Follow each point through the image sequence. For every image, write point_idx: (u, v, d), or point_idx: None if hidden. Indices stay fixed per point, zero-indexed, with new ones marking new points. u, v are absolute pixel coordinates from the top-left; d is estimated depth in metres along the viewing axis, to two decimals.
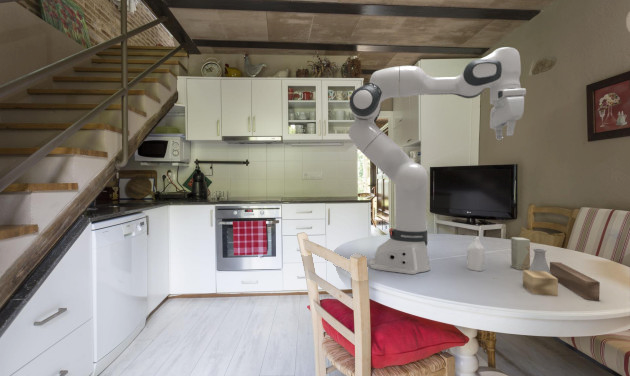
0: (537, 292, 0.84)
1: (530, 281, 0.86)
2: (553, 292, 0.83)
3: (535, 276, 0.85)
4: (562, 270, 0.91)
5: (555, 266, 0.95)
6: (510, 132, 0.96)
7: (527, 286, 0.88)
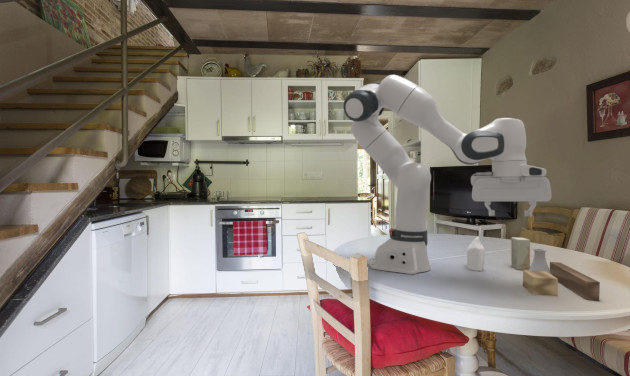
0: (537, 292, 0.84)
1: (530, 281, 0.86)
2: (553, 292, 0.83)
3: (535, 276, 0.85)
4: (562, 270, 0.91)
5: (555, 266, 0.95)
6: None
7: (527, 286, 0.88)
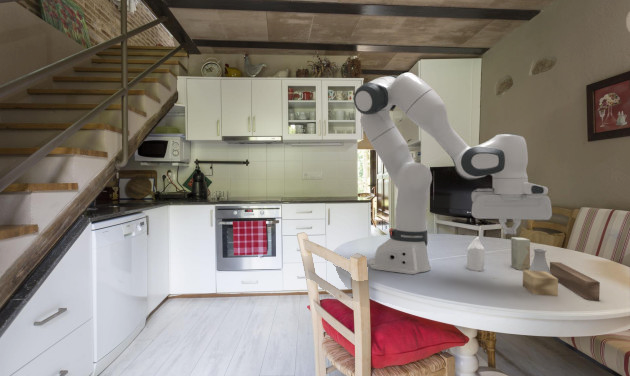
0: (537, 292, 0.84)
1: (530, 281, 0.86)
2: (553, 292, 0.83)
3: (535, 276, 0.85)
4: (562, 270, 0.91)
5: (555, 266, 0.95)
6: None
7: (527, 286, 0.88)
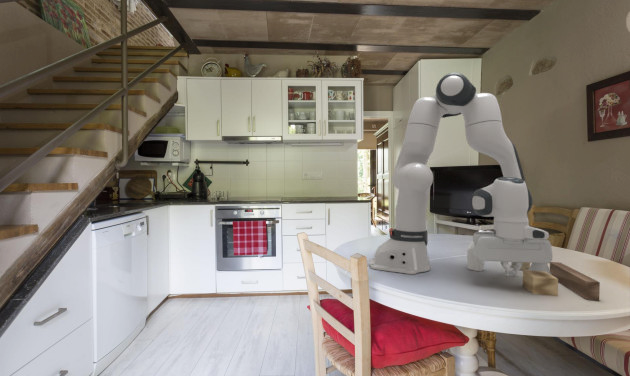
0: (537, 292, 0.84)
1: (530, 281, 0.85)
2: (553, 292, 0.83)
3: (535, 276, 0.85)
4: (562, 270, 0.91)
5: (555, 266, 0.95)
6: None
7: (527, 286, 0.88)
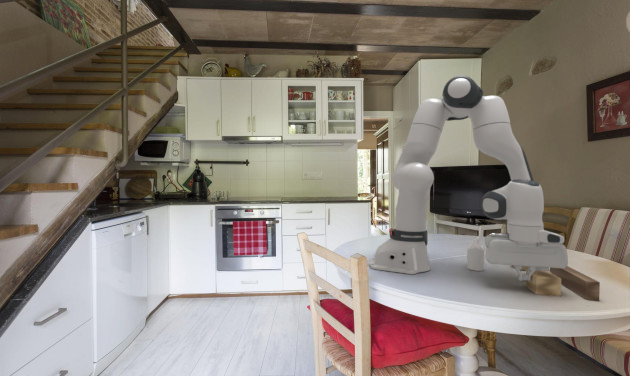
0: (540, 292, 0.84)
1: (533, 281, 0.85)
2: (556, 292, 0.83)
3: (538, 276, 0.84)
4: (562, 270, 0.91)
5: None
6: None
7: (530, 286, 0.87)
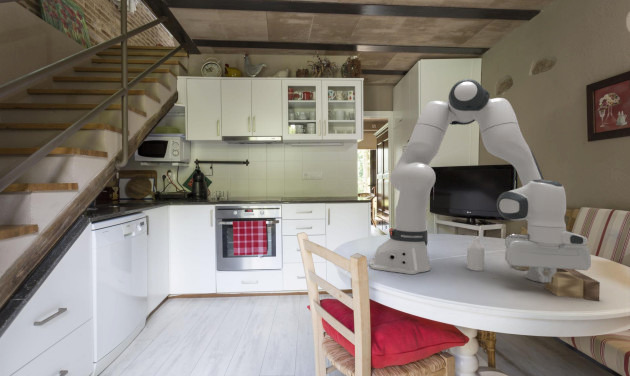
0: (562, 293, 0.82)
1: (554, 283, 0.84)
2: (578, 293, 0.81)
3: (560, 277, 0.83)
4: (562, 270, 0.91)
5: None
6: None
7: (550, 287, 0.86)
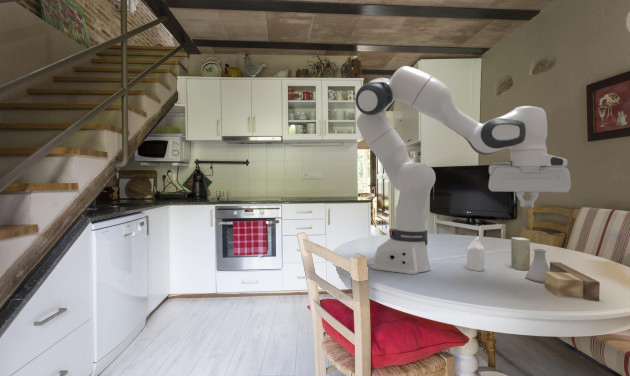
0: (562, 294, 0.82)
1: (554, 283, 0.84)
2: (578, 294, 0.81)
3: (559, 278, 0.83)
4: (562, 270, 0.91)
5: (555, 266, 0.95)
6: None
7: (550, 288, 0.86)
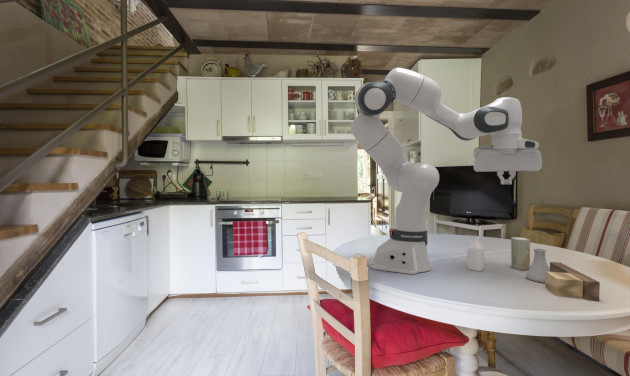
0: (561, 294, 0.82)
1: (554, 283, 0.84)
2: (578, 294, 0.81)
3: (559, 277, 0.83)
4: (562, 270, 0.91)
5: (555, 266, 0.95)
6: None
7: (550, 288, 0.86)
